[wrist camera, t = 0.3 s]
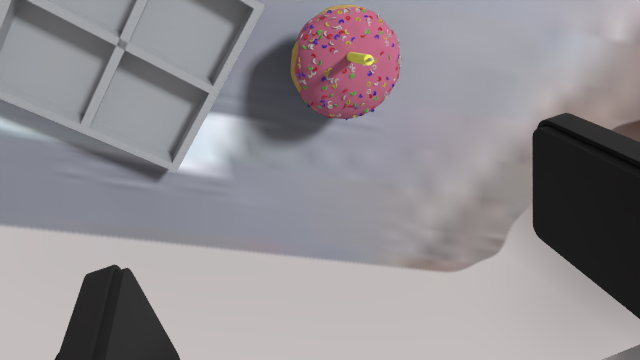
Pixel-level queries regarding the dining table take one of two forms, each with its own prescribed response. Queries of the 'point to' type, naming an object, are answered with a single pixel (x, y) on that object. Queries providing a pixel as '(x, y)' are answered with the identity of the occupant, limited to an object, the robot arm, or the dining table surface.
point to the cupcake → (345, 61)
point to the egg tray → (123, 66)
